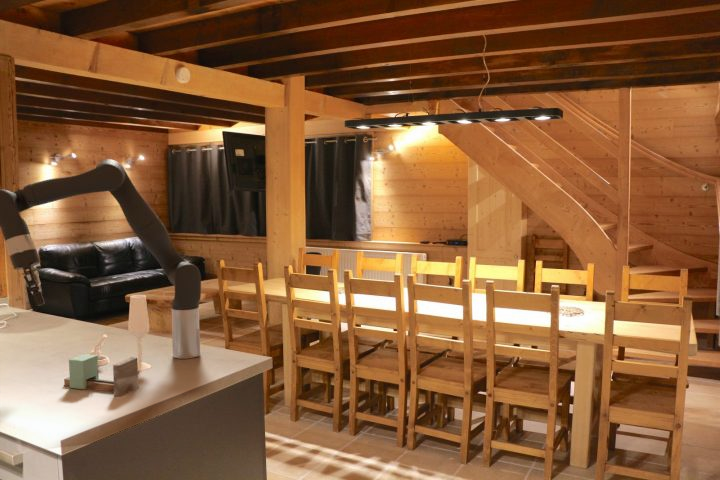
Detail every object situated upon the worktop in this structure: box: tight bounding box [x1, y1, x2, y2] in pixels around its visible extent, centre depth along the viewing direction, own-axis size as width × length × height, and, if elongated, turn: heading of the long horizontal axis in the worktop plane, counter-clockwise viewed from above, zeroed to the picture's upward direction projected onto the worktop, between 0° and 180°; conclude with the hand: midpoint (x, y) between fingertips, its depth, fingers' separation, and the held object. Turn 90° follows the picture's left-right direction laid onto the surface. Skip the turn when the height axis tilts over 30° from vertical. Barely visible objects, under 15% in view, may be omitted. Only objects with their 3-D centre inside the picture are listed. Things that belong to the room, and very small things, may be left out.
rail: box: [64, 356, 139, 397], centre depth 173 cm, size 22×8×9 cm, turn 73°
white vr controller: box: [89, 334, 111, 367], centre depth 198 cm, size 8×12×7 cm
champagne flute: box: [127, 294, 152, 372], centre depth 192 cm, size 7×7×24 cm
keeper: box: [68, 353, 99, 390], centre depth 175 cm, size 5×6×8 cm
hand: (40, 304), depth 180 cm, fingers closed
